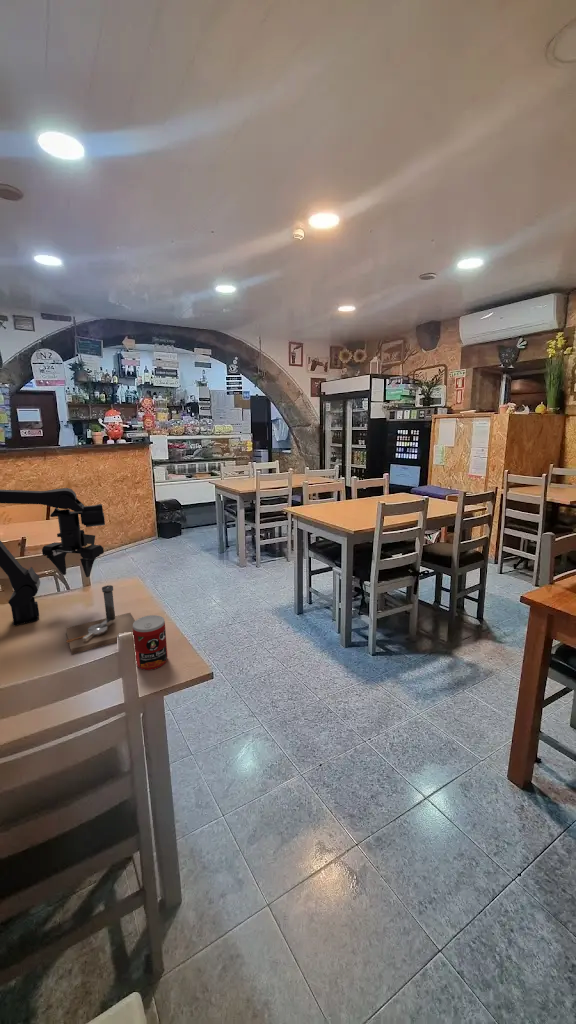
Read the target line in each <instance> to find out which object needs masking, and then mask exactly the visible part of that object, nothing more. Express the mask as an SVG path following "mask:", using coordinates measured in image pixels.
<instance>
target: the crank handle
mask: <svg viewBox="0 0 576 1024" xmlns="http://www.w3.org/2000/svg"><path fill="white" fill-rule="evenodd" d="M113 591H114V586H113V585H109V584H108V585H104V586H102V587H101V592H102V593H103V599H104V609H105V618H106V619H107V620H105V621H104V622H102V623H101V624H96V625H93V626H91V627H89V628H88V635H86V636H85V637H83V641H85V642H87V641H88V640H89V639H91V638H92V637H93V636H99V635H102V634H104V633H106V632H107V631H108V629H107V627H108V626H109V625H111V624H112V623H113V622H114V621H113V620H114V619H115V616H116V613H115V612H116V611H115V605H114V604H115V603H114V602H115V601H114V593H113Z"/></svg>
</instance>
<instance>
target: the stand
mask: <svg viewBox="0 0 576 1024" xmlns="http://www.w3.org/2000/svg"><path fill="white" fill-rule="evenodd" d="M105 620H107V619H106V617H105V618H103V619H102V618H101V619H97V620H94V621H89V622H85V623H80V624H76V625H73V626H68V627H65V630H66V631H65V632H66V637H67V639H66V641H65V642H66V643H67V644H69V649H70V654H71V655H74V654H78V653H81V652H85V651H88V650H93V649H96V648H100V647H103V646H107V645H111V644H114V643H118V642H117V635H118V634H119V633H124V632H133V623H134V622H135V621H136V619H135V618H134V616H133V615H132V612H127V613H123V614H119V615H118V614H117V615H115V619H114V620H113V621H114V622H113V623H112V624H111V625H109V626H108V627H107V629H108V631H107V632H106V633H104V634H102V635H99V636H93V637H92V638H91V639H89V640H88V641H87V642H85V641H83V637H85V636H86V635H88V628H89V627H91V626H93V625H96V624H101V623H102V622H104V621H105Z"/></svg>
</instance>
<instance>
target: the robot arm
mask: <svg viewBox="0 0 576 1024" xmlns="http://www.w3.org/2000/svg"><path fill="white" fill-rule="evenodd" d="M0 504H6V505H7V504H11V505H16V504H17V505H43V506H48V507H51V508H54V510H53V511H52V512H51V513H50V514H49V515H50V517H51V518H54V517H57V521H58V528H59V532H58V533H57V534H56V536H57V538H60V540H61V542H57V541H56V542H51V543H49V544H47V545H44V546H43V547H42V549H41V552H42V553H41V554H42V556H45V557H46V559H49V560H50V561H51V562H52V563H53V565H54V566H55V567H56V568H57V570H58V571H59V572H60V574H61V575H62V576H66V575H67V565H66V556H67V554H78V555H79V554H80V557H81V558H80V559H79V560H80V563H81V565H82V569H83V572H84V575H85V577H86V578H89V577H90V576H91V574H92V569H93V565H94V562H95V560H96V558H98V557H101V555H104V554H105V553H104V546H102V545H101V544H95V541H96V535H93V534H88V533H87V534H86V533H85V531H84V529H81V525H83V526H85V528H88V527H90V528H91V527H100V526H106V520H105V513H104V510H103V504H102V503H100V504H98V503H97V504H94V505H84V503H83V502H82V501H81V500H79V499H78V496H77V494H76V492H75V491H74V490H73V489H72V488H69V487H64V488H54V489H49V490H22V489H20V490H18V489H17V490H16V489H0ZM79 515H80V516H79ZM80 522H81V525H80ZM85 546H86V547H85ZM19 562H20V561H18V560H17V559H16V557H15V556H14V555H13V554H12V552H11V551H10V550H9V549H8V548H7V547H6V545H5V544H4V543H3V542H2V541H1V540H0V569H2V571H3V572H4V573H5V574H6V575H7V576H8V579H9V582H10V585H11V587H12V589H13V592H12V594H11V596H10V598H9V600H8V602H7V603H8V604H9V607H10V610H11V614H12V615H11V616H12V626H13V625H15V626H20V625H23V624H28V623H33V622H37V621H39V617H40V610H39V603H38V601H36V600H35V599H36V598H35V596H36V595H37V593H38V591H39V590H40V586H41V579H40V578H41V575H38V573H36V571H35V570H34V568H33V567H32V566H31V567H30V568H28V569H27V568H25V567H24V566H22V565H21V563H19Z"/></svg>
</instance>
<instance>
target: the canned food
mask: <svg viewBox="0 0 576 1024" xmlns="http://www.w3.org/2000/svg"><path fill="white" fill-rule="evenodd" d="M133 635H134V638H133V643H134V644H135V646H134V652H136V655H135V662H136V661H137V663H136V665H137V667H138V668H139V669H140V668H141V669H140V670H143V669H145V670H144V671H152V670H151V669H153V670H156V669H159V668H161V667H162V666H164V665H165V664H166V663H167V660H168V644H167V643H168V642H167V632H166V621H165V618H164V617H163V616H162V615H161V616H160V615H157V614H154V615H153V614H152V615H151V614H150V615H144V616H142V617H139V618H138V619H135V622H134V623H133ZM158 667H159V668H158ZM155 668H156V669H155Z"/></svg>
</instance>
